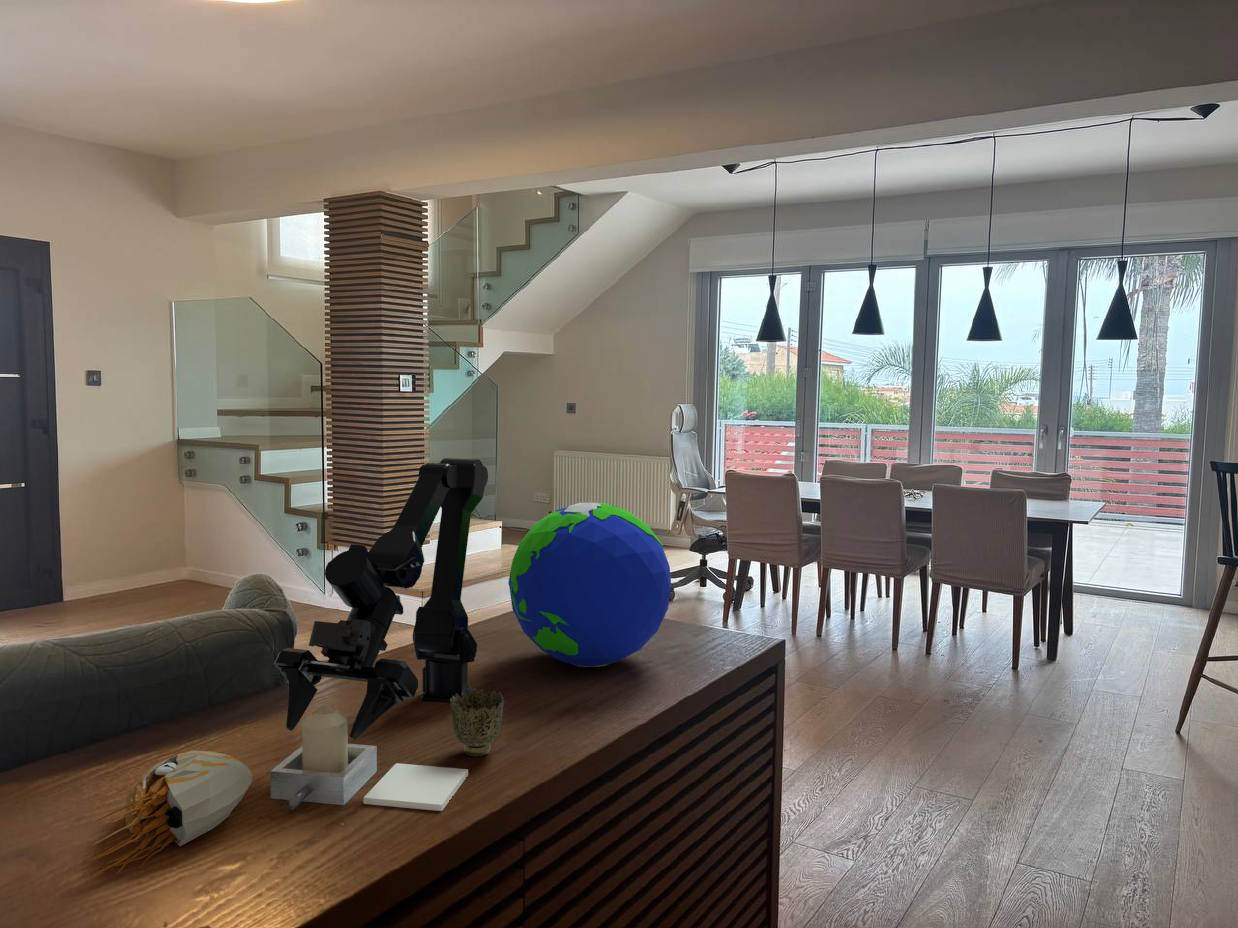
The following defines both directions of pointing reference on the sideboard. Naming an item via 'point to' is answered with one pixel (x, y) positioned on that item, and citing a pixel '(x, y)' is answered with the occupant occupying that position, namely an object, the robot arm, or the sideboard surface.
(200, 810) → the nautilus
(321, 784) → the small drawer with knob
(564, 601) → the globe
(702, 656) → the sideboard surface
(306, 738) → the candle
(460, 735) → the cup
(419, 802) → the tile
